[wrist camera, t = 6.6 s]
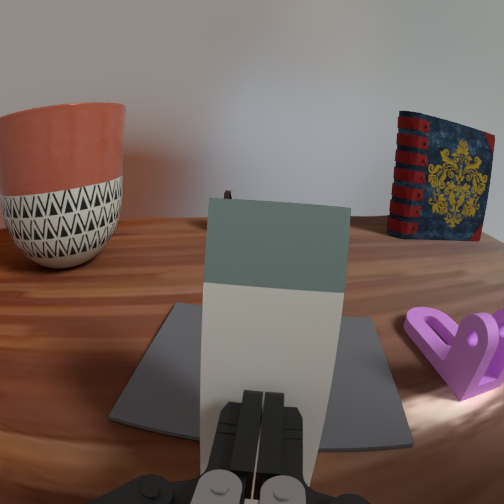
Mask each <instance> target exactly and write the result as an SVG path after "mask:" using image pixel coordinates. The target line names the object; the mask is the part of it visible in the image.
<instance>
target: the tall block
mask: <svg viewBox="0 0 504 504" xmlns="http://www.w3.org/2000/svg"><path fill="white" fill-rule="evenodd" d="M350 213H351V208H346V207H335V206H324V205H311V204H299V203H285V202H271V201H255V200H254V201H253V200H238V199H218V198H209V208H208V221H207V236H206V251H205V268H204V287H203V309H202V335H201V372H200V475H201V474H203V472H204V471H205V470H206V468H207V465H208V462H209V457H210V453H211V449H212V445H213V441H214V437H215V433H216V428H217V424H218V420H219V416H220V411H221V410H222V409H223V408H224V406H225V405H226V404H227V403H228V402H238V403H242V398H243V392H244V390H253V391H263V400H262V410H261V420H260V429H259V438H258V446H257V454H256V463H255V471H254V478H253V486H252V494H251V499H245V503H244V504H258V500H253V494H254V485H255V477H256V468H257V460H258V451H259V443H260V434H261V425H262V416H263V407H264V397H265V392H278V393H284V407H297V408H298V410H299V412H300V414H301V416H302V417H303V478H304V481H305V483H306V484H307V485H308V486H310V482H311V478H312V474H313V470H314V466H315V462H316V457H317V453H318V449H319V444H320V440H321V435H322V430H323V426H324V421H325V416H326V411H327V405H328V400H329V395H330V389H331V383H332V377H333V371H334V365H335V359H336V352H337V345H338V338H339V331H340V323H341V315H342V307H343V298H344V289H345V279H346V269H347V257H348V245H349V230H350Z"/></svg>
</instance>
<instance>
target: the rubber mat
mask: <svg viewBox="0 0 504 504" xmlns="http://www.w3.org/2000/svg"><path fill="white" fill-rule="evenodd" d="M202 309H203V305H194V304H185V303H176V304H175V306H174V307H173V309H172V311H171V312H170V314H169V316H168V317H167V319H166V320H165V322H164V324H163V325H162V327H161V329H160V330H159V332H158V333H157V335H156V337H155V338H154V340H153V342H152V343H151V345H150V347H149V348H148V350H147V352H146V353H145V355H144V357H143V358H142V360H141V362H140V363H139V365H138V367H137V368H136V370H135V372H134V373H133V375H132V377H131V378H130V380H129V382H128V383H127V385H126V387H125V389H124V390H123V392H122V394H121V395H120V397H119V399H118V401H117V402H116V404H115V406H114V408H113V409H112V411H111V413H110V414H109V419H110V420H112V421H115V422H119V423H122V424H126V425H130V426H133V427H137V428H141V429H145V430H149V431H153V432H158V433H162V434H167V435H171V436H176V437H181V438H187V439H192V440H198V441H200V372H201V335H202ZM413 444H414V443H413V439H412V436H411V432H410V429H409V426H408V422H407V419H406V416H405V413H404V409H403V406H402V403H401V400H400V397H399V394H398V391H397V388H396V385H395V382H394V379H393V376H392V373H391V370H390V368H389V365H388V362H387V359H386V356H385V354H384V351H383V348H382V345H381V343H380V340H379V337H378V335H377V332H376V329H375V327H374V324H373V322H372V319H371V318H364V317H342V316H341V323H340V331H339V338H338V345H337V352H336V359H335V365H334V371H333V377H332V383H331V389H330V395H329V400H328V405H327V411H326V416H325V421H324V426H323V430H322V435H321V440H320V444H319V449H318V452H341V451H368V450H383V449H394V448H404V447H412V445H413Z"/></svg>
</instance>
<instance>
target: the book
mask: <svg viewBox="0 0 504 504" xmlns="http://www.w3.org/2000/svg"><path fill="white" fill-rule="evenodd" d="M398 128H399V130H398V133H397V150H396V155H395V161H396V167H394V183H393V184H392V199H391V200H390V210H389V211H390V215H389V216H388V223H387V228H388V229H387V233H388V234H389V235H391V236H394V237H397V238H401V239H430V240H462V241H479V240H480V236H481V231H482V226H483V221H484V216H485V210H486V205H487V199H488V192H489V186H490V178H491V170H492V161H493V151H494V143H495V136H494V135H491V134H489V133H486V132H483V131H480V130H477V129H474V128H470V127H467V126H464V125H461V124H458V123H454V122H451V121H447V120H444V119H440V118H436V117H432V116H429V115H425V114H421V113H416V112H410V111H400V112H399V117H398Z"/></svg>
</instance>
